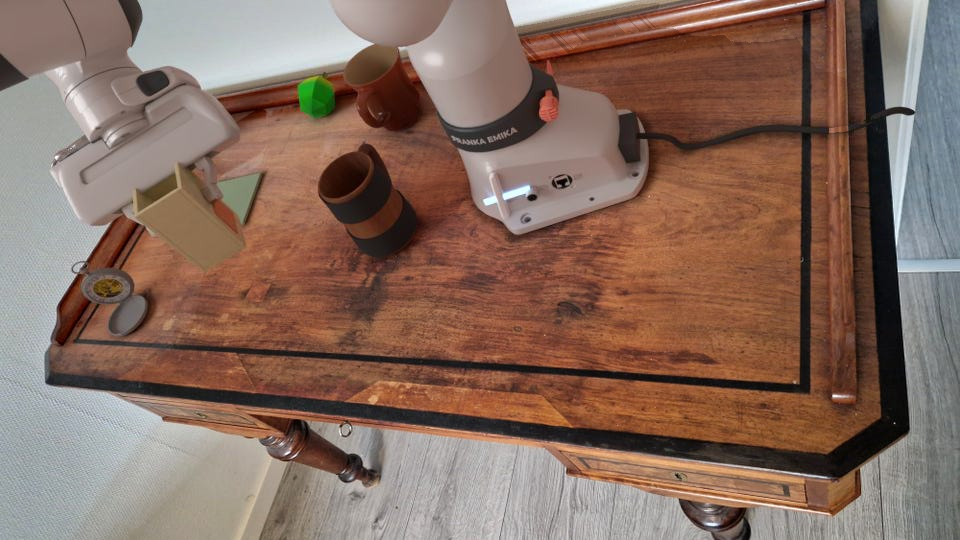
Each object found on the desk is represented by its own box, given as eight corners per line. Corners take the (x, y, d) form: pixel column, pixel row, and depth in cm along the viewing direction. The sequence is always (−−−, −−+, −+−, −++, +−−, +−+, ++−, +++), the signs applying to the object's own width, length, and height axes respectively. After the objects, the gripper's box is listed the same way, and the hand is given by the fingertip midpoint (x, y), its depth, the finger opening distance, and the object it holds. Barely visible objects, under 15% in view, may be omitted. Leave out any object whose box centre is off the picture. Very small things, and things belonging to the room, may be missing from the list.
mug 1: (386, 100, 102) (353, 47, 94) (436, 92, 99) (405, 36, 91) (364, 157, 96) (327, 107, 88) (416, 151, 93) (382, 98, 85)
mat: (262, 174, 103) (260, 172, 103) (244, 224, 98) (242, 222, 97) (212, 185, 107) (210, 183, 106) (192, 234, 101) (190, 233, 101)
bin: (240, 215, 81) (177, 156, 73) (247, 246, 77) (182, 187, 69) (198, 241, 81) (131, 185, 73) (204, 273, 78) (134, 217, 69)
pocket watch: (127, 344, 92) (67, 309, 85) (99, 325, 97) (41, 291, 90) (165, 297, 95) (111, 259, 88) (137, 281, 100) (83, 244, 92)
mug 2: (428, 183, 88) (388, 121, 79) (415, 256, 81) (369, 197, 72) (373, 193, 91) (328, 134, 82) (355, 264, 84) (304, 209, 76)
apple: (296, 90, 99) (310, 50, 104) (286, 115, 104) (300, 77, 109) (340, 109, 102) (352, 70, 106) (329, 133, 107) (341, 95, 111)
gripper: (24, 159, 70) (98, 267, 72) (183, 58, 70) (255, 168, 71) (60, 163, 77) (127, 263, 78) (206, 71, 76) (272, 172, 77)
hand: (189, 217), depth 75 cm, fingers closed on bin, 6 cm apart
